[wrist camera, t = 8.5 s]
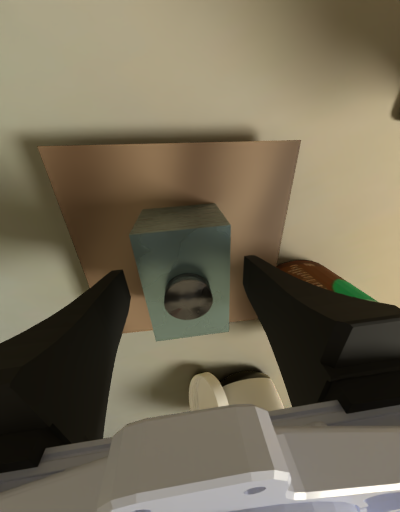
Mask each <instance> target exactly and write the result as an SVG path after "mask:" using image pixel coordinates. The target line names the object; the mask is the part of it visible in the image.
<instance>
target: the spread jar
mask: <svg viewBox="0 0 400 512" xmlns="http://www.w3.org/2000/svg"><path fill="white" fill-rule="evenodd" d="M232 404H253V405H256V406H258V407H261V408H263V409H265V410H267V411H273V410H279V409H285V408H284V406H283V404H282V401H281V399H280V396H279V394H278V392H277V390H276V387H275V385H274V383H273V382H272V380H271V379H270V377H269V376H268V375H266V374H264V373H261V372H257V371H241V372H237V373H234V374H232V375H230V376H228V377H226V378H225V379H224V380H223V381H221V382H219V381H218V380H217V378H216V377H215V376H214V375H213V374H211V373H209V372H204V373H201V374H197V375H195V376H194V377H193V378H192V380H191V382H190V386H189V405H190V411H195V410H202V409H208V408H214V407H220V406H226V405H232Z"/></svg>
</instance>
